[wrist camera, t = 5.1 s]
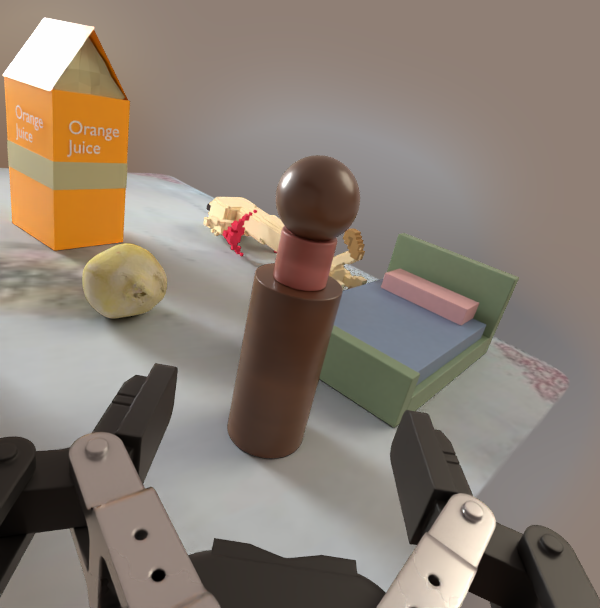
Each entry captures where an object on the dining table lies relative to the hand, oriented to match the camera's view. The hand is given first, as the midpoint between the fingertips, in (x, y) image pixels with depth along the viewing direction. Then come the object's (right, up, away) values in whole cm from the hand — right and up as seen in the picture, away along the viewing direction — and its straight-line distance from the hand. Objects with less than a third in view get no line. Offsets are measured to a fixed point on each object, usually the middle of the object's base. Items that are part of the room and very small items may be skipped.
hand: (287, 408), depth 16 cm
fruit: (-15, +3, +22) cm, 26 cm away
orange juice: (-25, +11, +34) cm, 43 cm away
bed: (+8, 0, +24) cm, 26 cm away
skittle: (-2, -4, +12) cm, 12 cm away
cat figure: (-3, +9, +39) cm, 40 cm away
